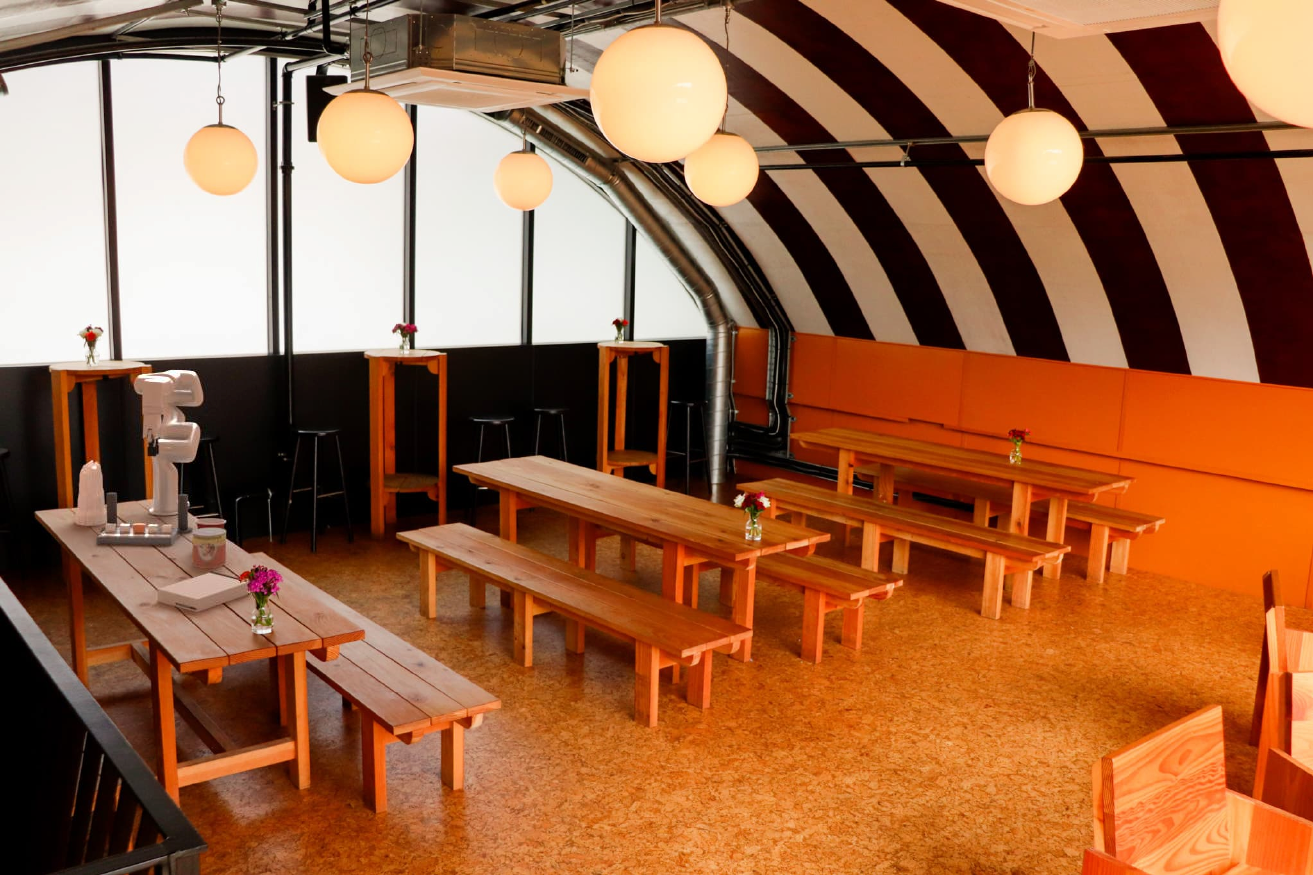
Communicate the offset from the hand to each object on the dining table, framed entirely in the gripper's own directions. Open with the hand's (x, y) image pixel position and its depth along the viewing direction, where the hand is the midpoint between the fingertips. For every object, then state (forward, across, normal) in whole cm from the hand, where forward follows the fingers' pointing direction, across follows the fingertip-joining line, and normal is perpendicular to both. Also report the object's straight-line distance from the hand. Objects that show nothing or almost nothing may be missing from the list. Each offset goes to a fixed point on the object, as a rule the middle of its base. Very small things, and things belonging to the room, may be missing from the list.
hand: (153, 454), depth 418 cm
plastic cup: (+29, +35, +28) cm, 54 cm away
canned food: (+29, +51, +31) cm, 67 cm away
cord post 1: (+29, +9, -13) cm, 33 cm away
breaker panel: (+29, +22, 0) cm, 37 cm away
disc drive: (+30, +90, +36) cm, 101 cm away
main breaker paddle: (+26, +22, 0) cm, 34 cm away
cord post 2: (+29, +9, +13) cm, 33 cm away
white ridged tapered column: (+29, -3, -24) cm, 38 cm away
